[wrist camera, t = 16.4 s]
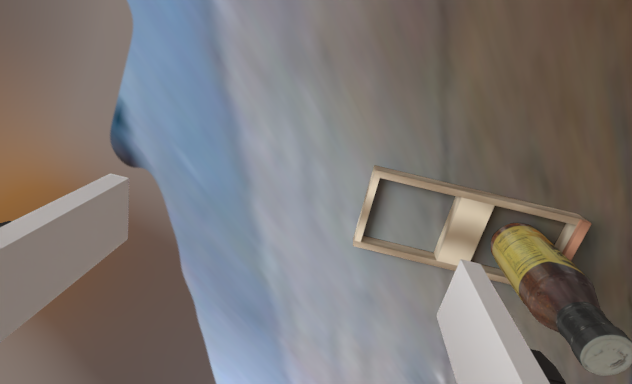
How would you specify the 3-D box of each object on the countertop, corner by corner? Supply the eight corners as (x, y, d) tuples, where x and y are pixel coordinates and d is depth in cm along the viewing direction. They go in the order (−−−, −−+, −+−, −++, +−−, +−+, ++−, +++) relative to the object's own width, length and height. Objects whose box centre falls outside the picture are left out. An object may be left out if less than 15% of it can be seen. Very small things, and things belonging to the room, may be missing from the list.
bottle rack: (374, 165, 45) (375, 171, 43) (579, 214, 45) (591, 223, 42) (353, 238, 49) (352, 248, 47) (541, 284, 49) (550, 296, 46)
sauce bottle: (543, 255, 47) (661, 384, 29) (493, 268, 49) (574, 399, 30) (533, 211, 45) (652, 319, 27) (481, 225, 47) (560, 338, 28)
